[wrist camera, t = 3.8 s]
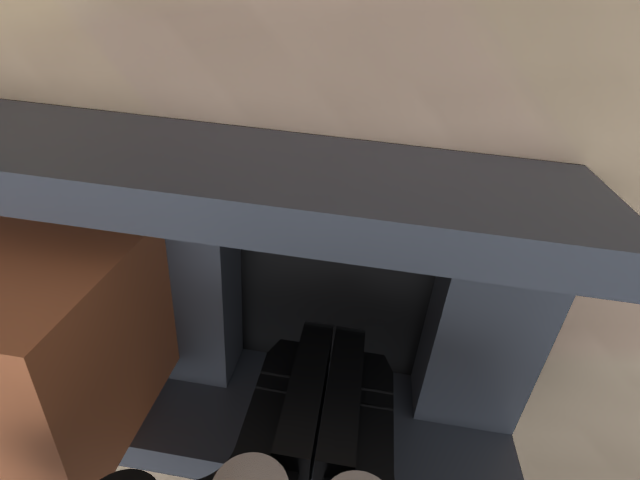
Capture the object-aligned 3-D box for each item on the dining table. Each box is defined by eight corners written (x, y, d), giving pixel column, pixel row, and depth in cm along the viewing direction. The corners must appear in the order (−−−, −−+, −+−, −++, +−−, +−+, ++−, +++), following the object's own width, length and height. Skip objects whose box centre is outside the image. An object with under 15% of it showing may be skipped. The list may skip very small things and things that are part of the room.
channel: (585, 165, 11) (686, 259, 7) (490, 403, 16) (522, 539, 12) (-362, 57, 14) (-663, 85, 10) (-207, 292, 18) (-370, 375, 14)
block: (162, 217, 11) (24, 357, 7) (179, 358, 14) (84, 524, 10) (-18, 193, 12) (-250, 312, 8) (31, 334, 14) (-124, 483, 10)
